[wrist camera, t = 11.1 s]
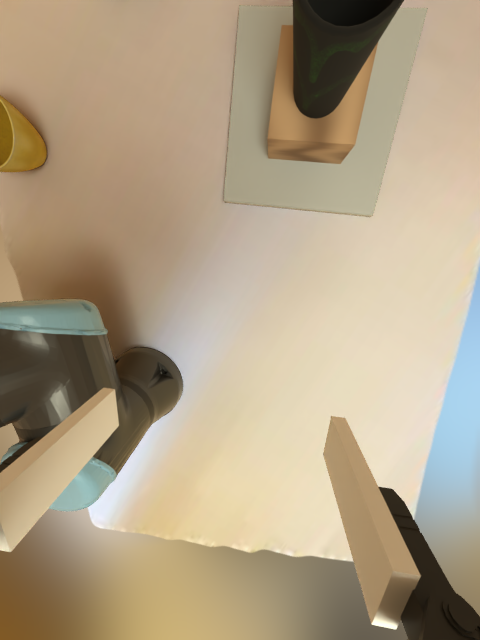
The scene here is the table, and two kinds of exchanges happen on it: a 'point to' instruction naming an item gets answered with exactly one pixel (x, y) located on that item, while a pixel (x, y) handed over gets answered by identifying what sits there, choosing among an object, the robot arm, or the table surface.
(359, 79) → the block
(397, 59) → the board
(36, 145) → the flower pot
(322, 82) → the cup
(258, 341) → the table surface
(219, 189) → the table surface
